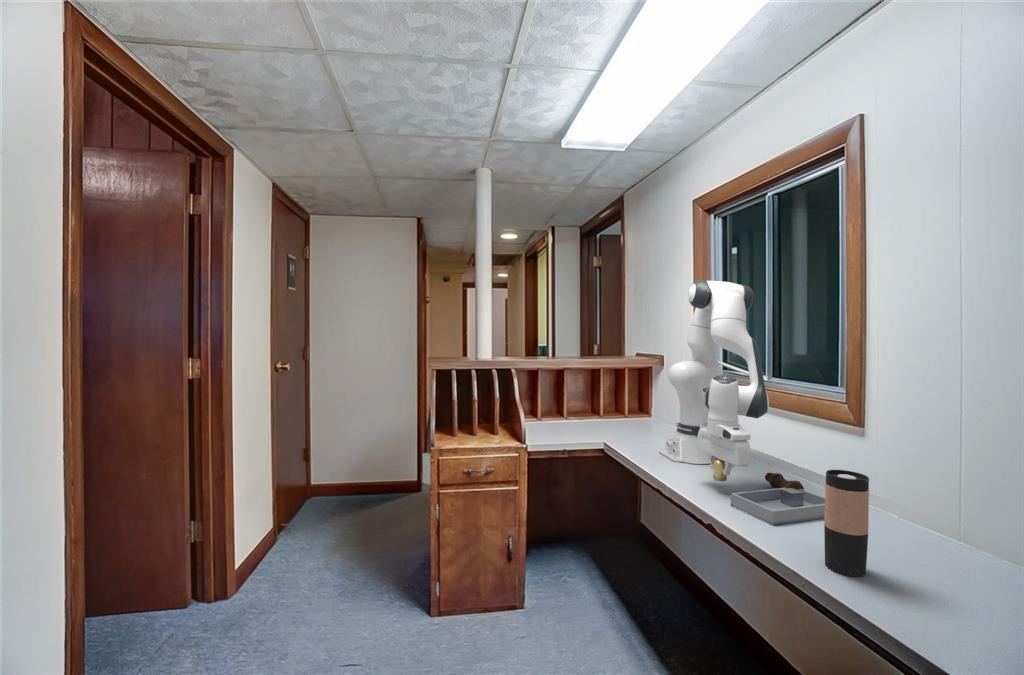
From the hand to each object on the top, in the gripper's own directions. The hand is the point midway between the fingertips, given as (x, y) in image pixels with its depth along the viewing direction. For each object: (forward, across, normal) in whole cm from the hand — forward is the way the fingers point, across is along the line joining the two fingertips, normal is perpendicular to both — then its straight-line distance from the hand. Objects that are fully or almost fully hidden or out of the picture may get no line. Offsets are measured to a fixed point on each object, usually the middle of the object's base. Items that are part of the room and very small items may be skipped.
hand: (720, 472), depth 151 cm
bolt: (+6, +5, +19) cm, 21 cm away
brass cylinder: (+2, 0, 0) cm, 2 cm away
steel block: (+5, +16, +12) cm, 20 cm away
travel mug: (+5, +49, -8) cm, 50 cm away
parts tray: (+6, +18, +7) cm, 20 cm away
